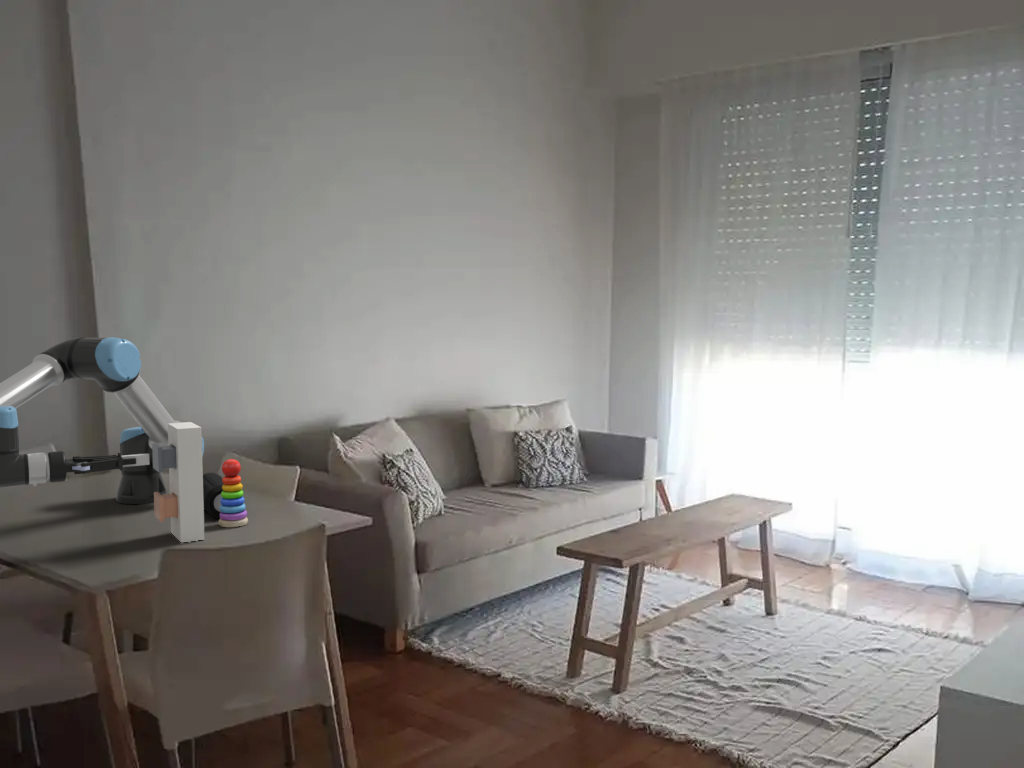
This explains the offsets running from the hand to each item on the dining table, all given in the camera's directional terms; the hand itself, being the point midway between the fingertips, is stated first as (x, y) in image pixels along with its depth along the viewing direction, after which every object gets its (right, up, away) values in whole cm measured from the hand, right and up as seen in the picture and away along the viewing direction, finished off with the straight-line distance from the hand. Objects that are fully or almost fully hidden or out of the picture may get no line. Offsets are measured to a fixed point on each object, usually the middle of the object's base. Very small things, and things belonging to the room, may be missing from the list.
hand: (148, 459), depth 240 cm
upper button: (+4, -3, +3) cm, 6 cm away
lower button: (+4, -16, +4) cm, 17 cm away
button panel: (+8, -21, +7) cm, 24 cm away
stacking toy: (+16, -20, +20) cm, 33 cm away
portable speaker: (+6, -19, +37) cm, 41 cm away
